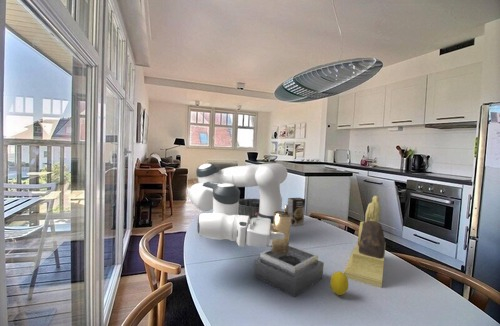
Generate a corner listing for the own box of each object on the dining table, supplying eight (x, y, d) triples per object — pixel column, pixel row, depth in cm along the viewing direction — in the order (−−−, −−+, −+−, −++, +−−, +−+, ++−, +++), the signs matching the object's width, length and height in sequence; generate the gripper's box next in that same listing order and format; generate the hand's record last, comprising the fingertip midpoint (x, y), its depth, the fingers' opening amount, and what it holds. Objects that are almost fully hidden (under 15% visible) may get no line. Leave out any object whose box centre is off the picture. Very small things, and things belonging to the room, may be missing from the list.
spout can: (268, 250, 87) (271, 203, 86) (278, 246, 91) (281, 201, 91) (281, 255, 83) (285, 206, 83) (291, 251, 88) (294, 204, 87)
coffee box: (292, 226, 156) (293, 199, 155) (285, 223, 162) (287, 197, 160) (304, 224, 160) (305, 199, 159) (297, 221, 166) (299, 197, 165)
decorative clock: (353, 252, 122) (358, 189, 119) (384, 259, 115) (390, 193, 113) (343, 277, 97) (349, 198, 95) (381, 288, 91) (389, 204, 89)
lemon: (326, 290, 87) (328, 267, 87) (342, 290, 88) (344, 267, 87) (333, 300, 82) (335, 275, 81) (350, 300, 82) (352, 276, 82)
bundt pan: (226, 215, 173) (227, 200, 172) (255, 210, 191) (255, 196, 190) (254, 225, 154) (254, 209, 153) (282, 218, 172) (283, 203, 171)
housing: (253, 275, 95) (254, 252, 94) (283, 261, 108) (284, 241, 107) (294, 297, 82) (296, 271, 82) (322, 278, 95) (324, 255, 95)
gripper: (246, 228, 99) (282, 231, 97) (238, 248, 78) (284, 253, 77) (247, 212, 99) (283, 215, 97) (239, 228, 78) (285, 232, 77)
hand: (284, 232), depth 87 cm, fingers closed on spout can, 6 cm apart
